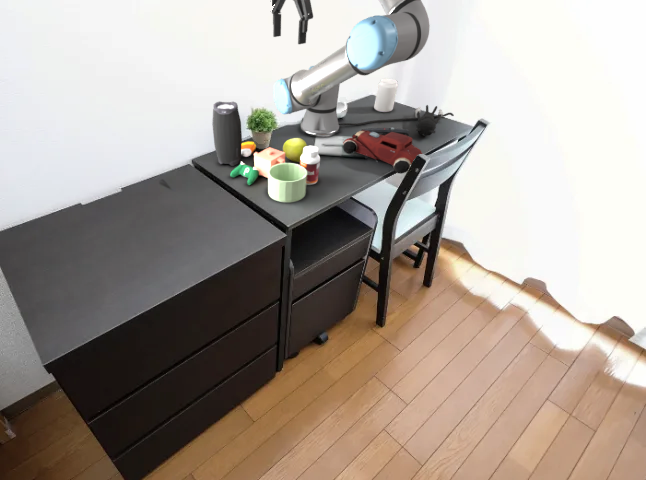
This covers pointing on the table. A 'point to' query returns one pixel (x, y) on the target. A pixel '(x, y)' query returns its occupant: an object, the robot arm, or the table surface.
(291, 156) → the apple
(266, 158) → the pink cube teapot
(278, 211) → the table surface
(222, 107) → the portable speaker
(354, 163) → the table surface
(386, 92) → the white cylindrical container
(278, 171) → the light green bowl
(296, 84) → the robot arm
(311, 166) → the pill bottle
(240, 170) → the gaming controller
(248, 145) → the candy corn
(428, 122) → the toy
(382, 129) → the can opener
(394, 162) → the toy car
